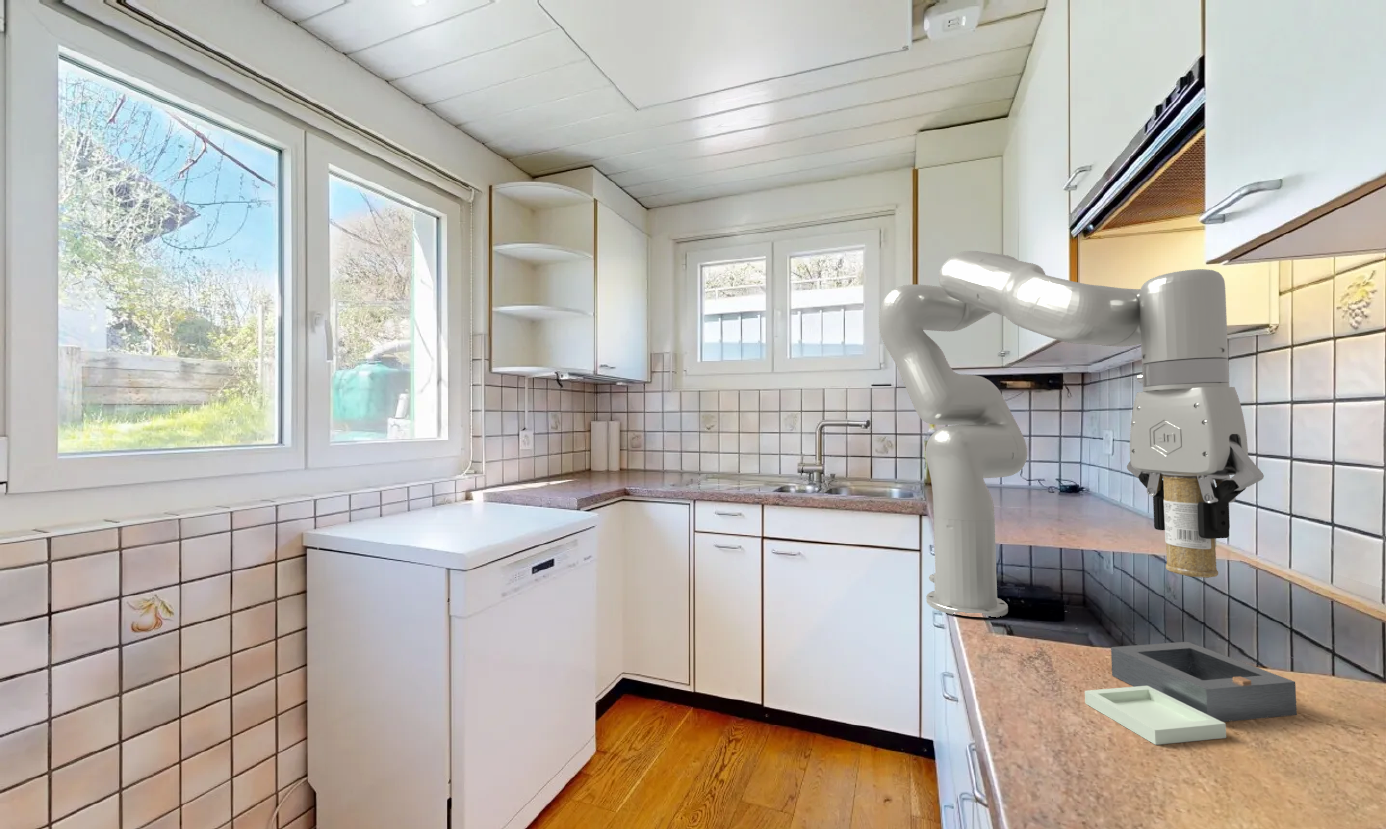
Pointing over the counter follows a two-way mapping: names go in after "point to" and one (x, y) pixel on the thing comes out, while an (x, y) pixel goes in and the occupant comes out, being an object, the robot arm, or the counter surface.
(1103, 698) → the tray
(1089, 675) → the counter surface
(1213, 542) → the spice jar
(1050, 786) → the counter surface
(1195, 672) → the block
